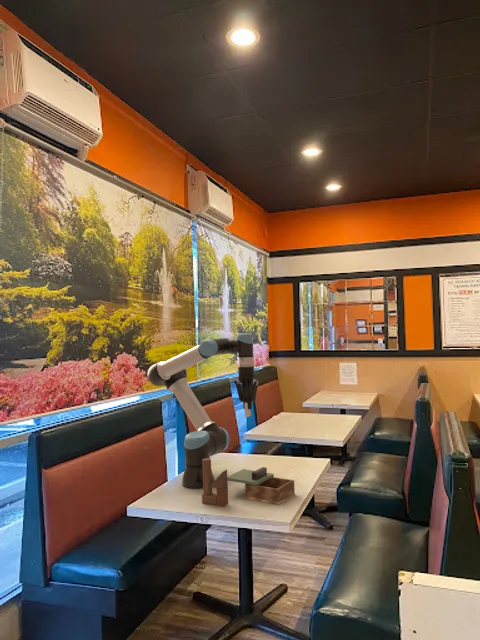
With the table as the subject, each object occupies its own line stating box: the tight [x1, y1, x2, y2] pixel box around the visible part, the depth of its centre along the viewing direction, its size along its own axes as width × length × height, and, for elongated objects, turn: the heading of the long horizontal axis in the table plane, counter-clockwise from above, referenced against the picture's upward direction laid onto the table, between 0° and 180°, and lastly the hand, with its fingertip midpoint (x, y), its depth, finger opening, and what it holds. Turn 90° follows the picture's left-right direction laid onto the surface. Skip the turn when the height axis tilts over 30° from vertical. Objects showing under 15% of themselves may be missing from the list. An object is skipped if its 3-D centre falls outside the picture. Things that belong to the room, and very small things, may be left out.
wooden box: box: [244, 476, 295, 506], centre depth 210 cm, size 16×14×6 cm
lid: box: [227, 466, 275, 486], centre depth 216 cm, size 16×14×4 cm
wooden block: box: [201, 458, 229, 507], centre depth 204 cm, size 4×11×18 cm, turn 62°
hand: (247, 416), depth 232 cm, fingers closed
